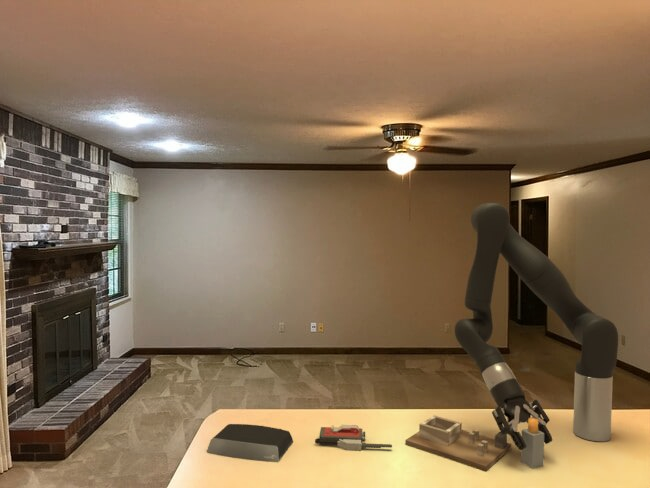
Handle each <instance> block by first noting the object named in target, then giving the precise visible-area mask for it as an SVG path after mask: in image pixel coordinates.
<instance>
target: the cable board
mask: <svg viewBox="0 0 650 488" xmlns="http://www.w3.org/2000/svg"><path fill="white" fill-rule="evenodd" d="M418 426H419V429H418V430H419V431H418V432H416V433H414V434H412V435H411V436H409V437H408V438H406V439H405V440H404V441H405V443H404V444H405V446H409V447H412V448H415V449H418V450H422V451H424V452H427V453H430V454H433V455H436V456H439V457H442V458H444V459H448V460H451V461H454V462H457V463H460V464H463V465H466V466H469V467H473V468H475V469H478V470H481V471H484V472H488V470H490V469H491V467H492V466H494V464H496V463H497V462H498V461H499V460H501V458H502V457H503V456H504V455H505V454H506V453H508V451H510V450H511V449H512V444H511V443H509V442H508V434H502V433H501V432H500V431H498V432H497V433H496V434H494V438H493V437H489V436H487V435H486V436H485V435H482V434H480V433H479V432H480V430H478V429H472V431H468V430H465V429H463V427H462V422H459V421H456V420H452V419H448V418H446V417H445V418H444V417H441V416H437V415H434V414H433V415H432V416H431V417H429V418H427V419H426V420H424V421H422V422H421V423H419V425H418Z"/></svg>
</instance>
